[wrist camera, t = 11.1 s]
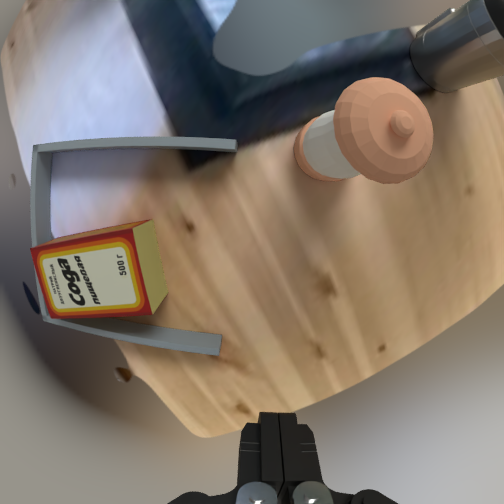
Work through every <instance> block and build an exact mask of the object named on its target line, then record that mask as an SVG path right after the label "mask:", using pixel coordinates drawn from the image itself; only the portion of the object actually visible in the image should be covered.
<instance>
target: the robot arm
mask: <svg viewBox="0 0 504 504" xmlns="http://www.w3.org/2000/svg"><path fill="white" fill-rule="evenodd" d="M410 56H411V59H412V62H413V65H414V67H415V69H416V71H417V72H418V74H419V75H420V76H421V78H422V79H423V80H424V81H425V82H426V83H427V84H428V85H430V86H431V87H432V88H434V89H436V90H438V91H440V92H445V93H449V92H452V91H456V90H458V89H461V88H464V87H468V86H471V85H474V84H477V83H480V82H483V81H486V80H490V79H493V78H496V77H500V76H503V75H504V0H470V1H468V2H467V3H465V4H464V5H462V6H461V7H460V8H458V9H456V10H455V9H453V8H449V9H447V10H446V11H445V12H443V13H442V14H441V15H439V16H438V17H437V18H435V19H434V20H432V21H431V22H430V23H428V24H427V25H426V26H425V27H423V28H422V29H421V30H419V31H418V32H417V38H416V39H415V40H414V41H413V42H412V44H411V47H410ZM316 451H317V449H316V445H315V439H314V435H313V432H312V431H311V430H310V428H309V427H308V425H307V424H297V417H296V414H295V413H278V414H277V413H274V412H260V413H259V418H258V423H246V425H245V427H244V428H243V430H242V431H241V439H240V447H239V460H238V478H237V486H236V487H235V489H233V490H232V491H230V492H228V493H226V494H222V495H216V496H208V495H206V494H204V493H201V492H187V493H184V494H182V495H180V496H179V497H177V498H176V499H174V500H172V501H171V502H169V503H168V504H398V503H396V502H395V501H393V500H391V499H389V498H388V497H386V496H384V495H383V494H381V493H380V492H378V491H375V490H370V489H367V490H362V491H360V492H358V493H357V494H355V495H353V494H346V493H339V492H335V491H333V490H331V489H329V488H328V487H327V486H326V485H325V484H324V482H323V480H322V476H321V470H320V465H319V460H318V455H317V452H316Z"/></svg>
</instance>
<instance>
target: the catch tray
mask: <svg viewBox="0 0 504 504" xmlns="http://www.w3.org/2000/svg"><path fill="white" fill-rule="evenodd" d="M237 147H238V143H237V141H236V140H231V139H216V138H195V137H119V138H99V139H85V140H73V141H63V142H54V143H46V144H38V145H33V153H32V167H31V198H30V204H31V233H32V248H33V247H35V246H38V245H40V244H43V243H45V242H48V241H51V223H50V187H51V166H52V153H55V152H67V151H81V150H100V149H189V150H209V151H225V152H237ZM34 268H35V266H34ZM35 275H36V283H37V289H38V296H39V301H40V306H41V312H42V317H43V321H46V322H49V323H53V324H56V325H60V326H64V327H67V328H71V329H75V330H79V331H83V332H87V333H91V334H95V335H99V336H104V337H108V338H113V339H117V340H122V341H127V342H132V343H137V344H143V345H148V346H154V347H160V348H166V349H172V350H179V351H186V352H193V353H201V354H209V355H218V356H219V353H220V347H221V342H222V335H219V334H210V333H202V332H194V331H186V330H179V329H172V328H165V327H158V326H152V325H146V324H140V323H134V322H129V321H123V320H118V319H113V318H107V317H100V318H65V319H51V317H50V315H49V312H48V309H47V306H46V303H45V300H44V297H43V294H42V291H41V287H40V284H39V281H38V277H37V274H36V270H35Z"/></svg>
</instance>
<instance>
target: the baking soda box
mask: <svg viewBox="0 0 504 504" xmlns="http://www.w3.org/2000/svg"><path fill="white" fill-rule="evenodd" d="M30 250H31V254H32V258H33V262H34V266H35V270H36V274H37V277H38V281H39V284H40V287H41V291H42V294H43V297H44V300H45V303H46V306H47V309H48V312H49V315H50V317H51V319H65V318H100V317H122V316H140V315H153V314H154V312H155V311H156V309H157V308H158V306H159V305H160V303H161V302H162V301H163V299H164V298H165V296H166V295H167V293H168V289H167V285H166V280H165V276H164V272H163V267H162V262H161V257H160V253H159V248H158V242H157V237H156V232H155V226H154V221H153V219H151V220H145V221H139V222H134V223H128V224H123V225H118V226H112V227H107V228H102V229H97V230H92V231H87V232H82V233H77V234H73V235H68V236H63V237H59V238H56V239H53V240H51V241H48V242H45V243H43V244H40V245H38V246H35V247H33V248H30Z"/></svg>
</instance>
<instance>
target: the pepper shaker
mask: <svg viewBox="0 0 504 504" xmlns="http://www.w3.org/2000/svg"><path fill="white" fill-rule="evenodd" d="M433 137H434V135H433V127H432V122H431V119H430V116H429V114H428V111H427V109H426V107H425V106H424V105H423V103H422V102H421V100H420V99H419V98H418V97H417V96H416V95H415V94H414V93H413V92H412V91H410V90H409V89H408V88H407V87H405V86H404V85H402V84H400V83H398V82H396V81H393V80H391V79H387V78H378V77H373V78H367V79H363V80H360V81H356V82H354V83H353V84H352V85H350V86H349V87H348V88H346V89H345V90H344V91H343V93H342V94H341V96H340V98H339V99H338V101H337V103H336V106H335V110H333V111H330V112H327V113H324V114H322V115H321V116H319V117H316V118H314V119H312V120H311V121H310V122H309V123H307V124H306V125H305V126H304V127H303V128H302V129H301V130H300V132H299V133H298V135H297V137H296V140H295V144H294V153H295V158H296V160H297V163H298V165H299V166H300V168H301V169H302V170H303V171H304V172H305V173H306V174H307V175H309V176H311V177H312V178H314V179H318V180H321V181H341V180H343V179H346V178H353V177H355V176H358V175H360V174H362V175H364V176H365V177H366V178H368V179H370V180H373V181H376V182H379V183H382V184H392V183H400V182H402V181H405V180H407V179H410V178H412V177H414V176H415V175H416V174H417V173H418V172H419V171H420V170H421V169H422V168H423V167H425V165H426V163H427V161H428V159H429V157H430V155H431V151H432V145H433Z"/></svg>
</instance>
